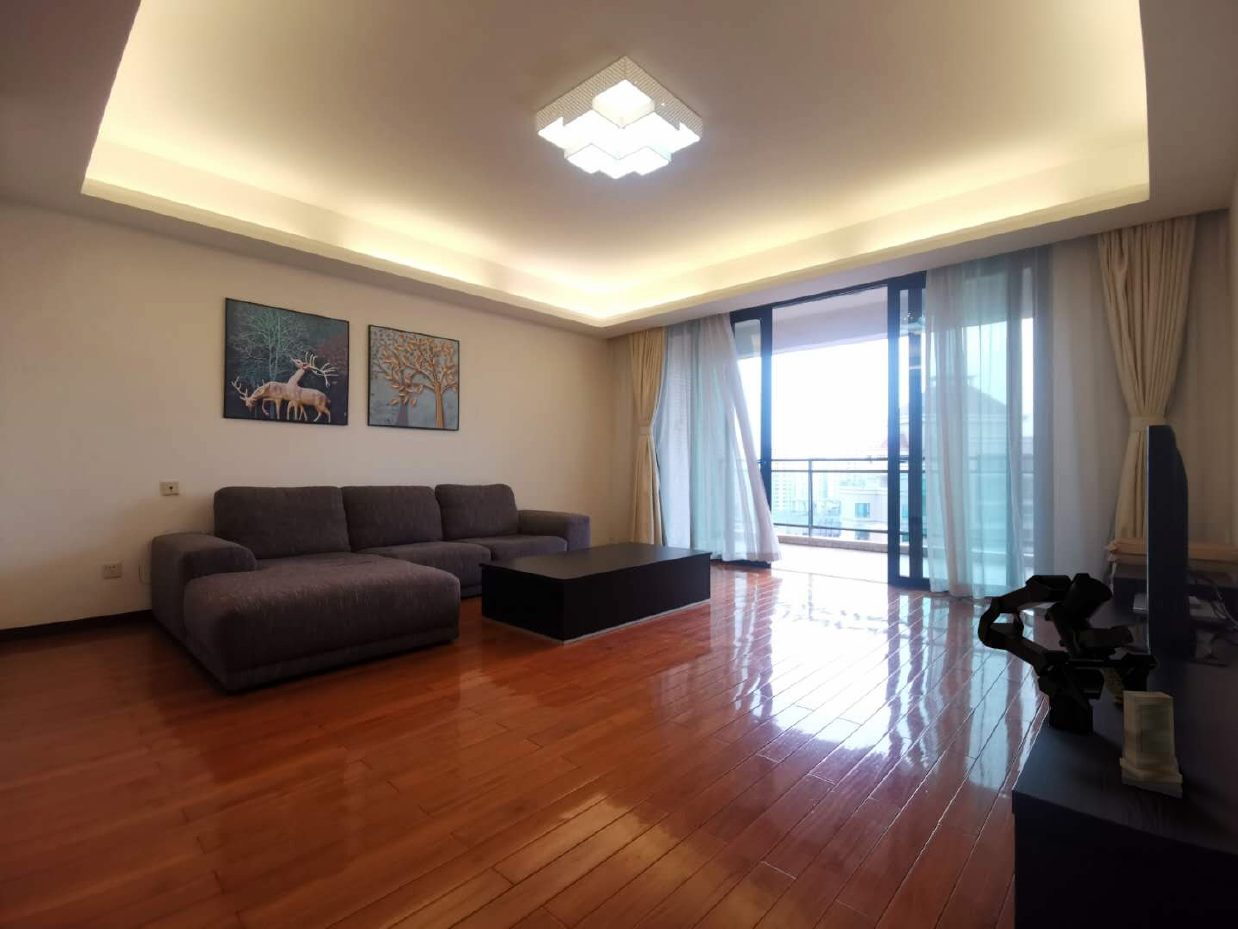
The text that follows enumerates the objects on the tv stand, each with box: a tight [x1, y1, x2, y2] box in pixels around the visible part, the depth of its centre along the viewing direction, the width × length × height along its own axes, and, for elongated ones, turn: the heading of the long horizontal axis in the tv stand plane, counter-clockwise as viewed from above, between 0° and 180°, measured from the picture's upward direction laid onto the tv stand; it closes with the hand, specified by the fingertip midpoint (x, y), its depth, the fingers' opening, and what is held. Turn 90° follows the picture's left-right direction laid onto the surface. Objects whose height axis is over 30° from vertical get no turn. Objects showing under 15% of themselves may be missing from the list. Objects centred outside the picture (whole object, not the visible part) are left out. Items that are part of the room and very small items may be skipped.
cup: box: [1101, 670, 1128, 706], centre depth 124 cm, size 8×7×8 cm
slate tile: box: [1121, 745, 1183, 796], centre depth 95 cm, size 7×14×1 cm, turn 138°
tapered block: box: [1119, 691, 1183, 784], centre depth 93 cm, size 6×5×13 cm
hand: (1118, 710), depth 100 cm, fingers open, 9 cm apart
